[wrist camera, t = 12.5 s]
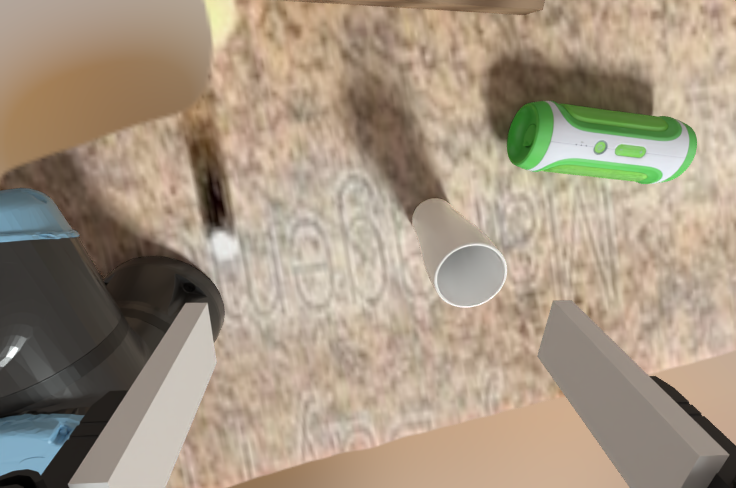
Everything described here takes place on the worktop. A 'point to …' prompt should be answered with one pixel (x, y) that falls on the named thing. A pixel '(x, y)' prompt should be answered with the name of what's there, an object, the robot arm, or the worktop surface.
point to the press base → (452, 5)
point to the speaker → (600, 143)
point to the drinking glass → (457, 255)
